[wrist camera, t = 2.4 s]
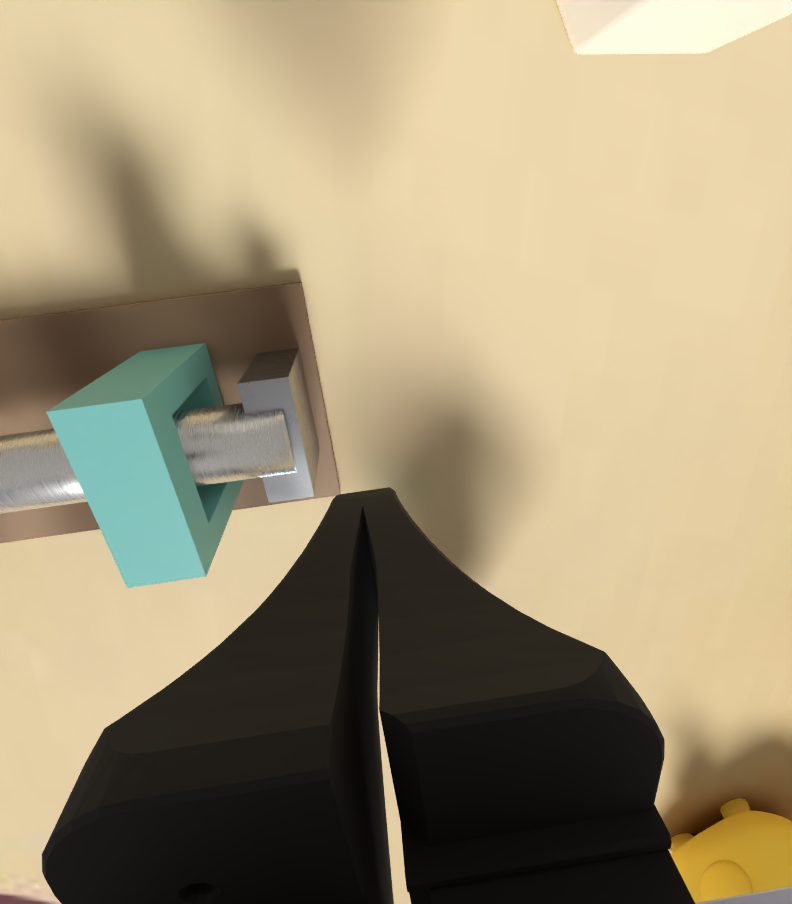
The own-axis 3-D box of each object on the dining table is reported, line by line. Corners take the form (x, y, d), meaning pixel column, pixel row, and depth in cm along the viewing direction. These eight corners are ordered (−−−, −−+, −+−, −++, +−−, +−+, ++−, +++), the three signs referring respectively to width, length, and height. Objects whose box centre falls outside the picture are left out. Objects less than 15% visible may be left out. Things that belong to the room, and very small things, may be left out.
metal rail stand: (-116, 510, 20) (-239, 588, 16) (-184, 411, 18) (-345, 469, 14) (319, 450, 21) (312, 509, 16) (299, 347, 19) (285, 385, 14)
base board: (-90, 551, 21) (-97, 556, 21) (-229, 349, 17) (-241, 352, 17) (340, 490, 22) (340, 494, 22) (301, 281, 18) (300, 283, 18)
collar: (187, 487, 20) (127, 587, 15) (140, 351, 18) (46, 411, 12) (244, 478, 20) (206, 576, 15) (205, 342, 18) (141, 399, 12)
